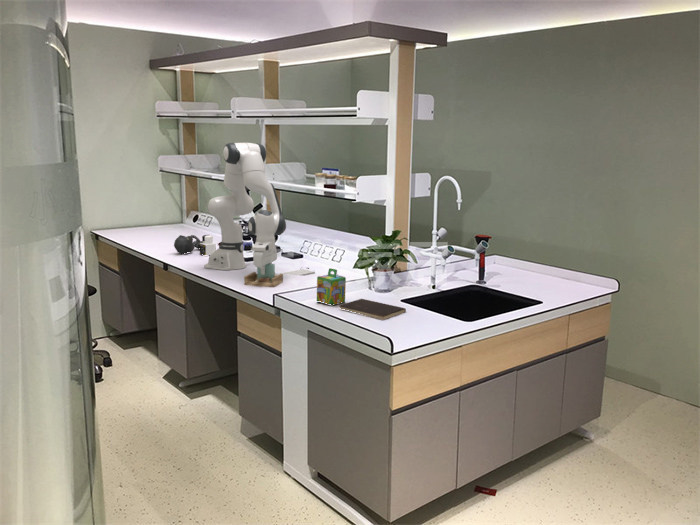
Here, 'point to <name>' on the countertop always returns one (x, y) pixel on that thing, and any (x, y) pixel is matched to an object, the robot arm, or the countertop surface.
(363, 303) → the hardcover book
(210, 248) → the medicine bottle
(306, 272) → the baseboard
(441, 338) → the countertop surface
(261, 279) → the offcut short
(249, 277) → the rack
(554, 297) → the countertop surface
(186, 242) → the gas mask
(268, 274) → the panel
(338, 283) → the green printed box
